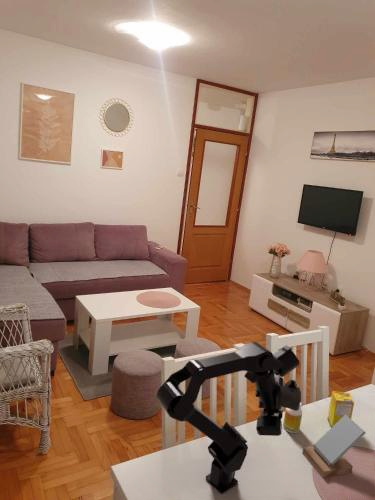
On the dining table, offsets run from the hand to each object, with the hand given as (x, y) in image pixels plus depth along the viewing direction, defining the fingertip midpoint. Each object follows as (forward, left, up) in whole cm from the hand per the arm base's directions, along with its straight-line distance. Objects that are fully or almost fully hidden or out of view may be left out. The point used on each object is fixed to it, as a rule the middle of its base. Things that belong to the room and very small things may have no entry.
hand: (276, 425), depth 112 cm
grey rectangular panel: (+13, -8, -10) cm, 19 cm away
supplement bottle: (+19, +7, -13) cm, 24 cm away
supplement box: (+35, -1, -13) cm, 38 cm away
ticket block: (+15, -9, -12) cm, 21 cm away
